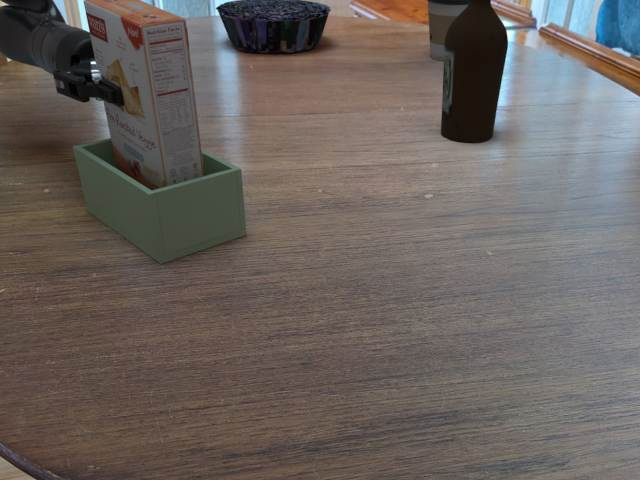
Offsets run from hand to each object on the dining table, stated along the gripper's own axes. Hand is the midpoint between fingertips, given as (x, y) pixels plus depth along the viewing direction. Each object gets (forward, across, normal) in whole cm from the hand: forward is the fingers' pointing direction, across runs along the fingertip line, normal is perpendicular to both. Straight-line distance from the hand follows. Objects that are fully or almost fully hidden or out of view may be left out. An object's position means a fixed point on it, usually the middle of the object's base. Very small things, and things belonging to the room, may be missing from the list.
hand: (145, 92), depth 87 cm
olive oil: (+2, -60, -17) cm, 62 cm away
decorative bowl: (-71, -72, -19) cm, 103 cm away
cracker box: (0, 0, -12) cm, 12 cm away
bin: (0, 0, -17) cm, 17 cm away
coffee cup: (-38, -98, -18) cm, 107 cm away
